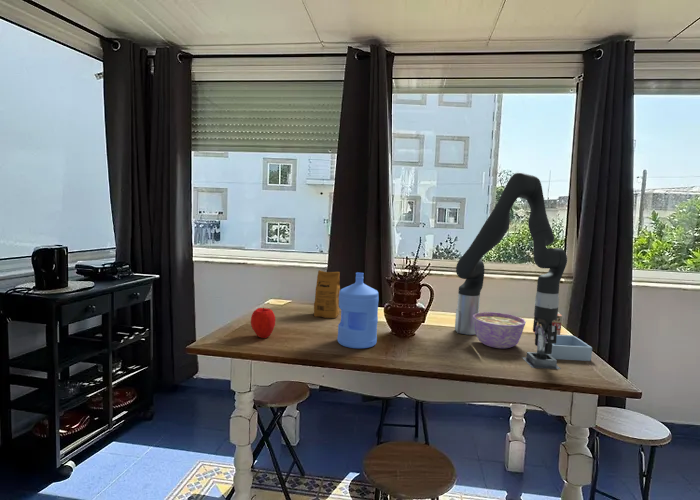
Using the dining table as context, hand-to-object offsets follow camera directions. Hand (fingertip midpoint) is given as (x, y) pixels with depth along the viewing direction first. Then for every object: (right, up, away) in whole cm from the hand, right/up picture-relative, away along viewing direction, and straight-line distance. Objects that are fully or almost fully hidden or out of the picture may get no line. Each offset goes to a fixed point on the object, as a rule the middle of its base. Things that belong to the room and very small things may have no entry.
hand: (542, 349), depth 153 cm
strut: (0, -5, +1) cm, 5 cm away
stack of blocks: (+18, -3, +37) cm, 42 cm away
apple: (-104, 0, +21) cm, 106 cm away
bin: (+13, -5, +12) cm, 19 cm away
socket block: (0, -6, +1) cm, 6 cm away
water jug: (-66, -2, +18) cm, 68 cm away
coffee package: (-80, +3, +57) cm, 98 cm away
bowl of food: (-10, -4, +20) cm, 23 cm away
